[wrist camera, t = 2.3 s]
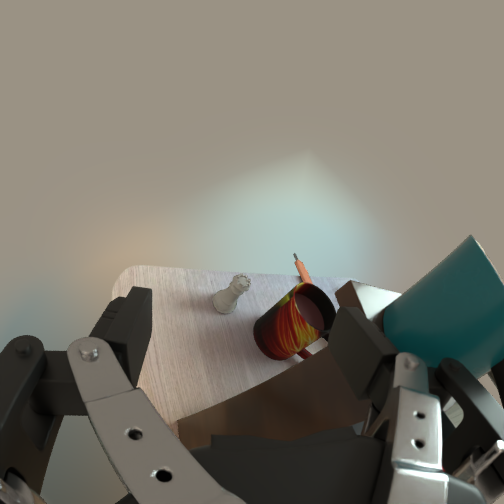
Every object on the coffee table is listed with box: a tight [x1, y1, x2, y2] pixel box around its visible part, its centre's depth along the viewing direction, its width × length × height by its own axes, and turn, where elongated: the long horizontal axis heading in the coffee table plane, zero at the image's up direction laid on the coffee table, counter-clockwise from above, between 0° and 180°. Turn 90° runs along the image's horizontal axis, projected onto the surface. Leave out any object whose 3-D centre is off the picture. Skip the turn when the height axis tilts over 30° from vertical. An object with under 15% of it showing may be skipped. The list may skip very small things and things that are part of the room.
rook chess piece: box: [213, 274, 251, 314], centre depth 47 cm, size 4×4×8 cm
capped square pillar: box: [177, 280, 456, 450], centre depth 21 cm, size 8×8×32 cm
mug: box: [253, 282, 336, 361], centre depth 48 cm, size 10×14×12 cm
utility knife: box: [294, 253, 312, 284], centre depth 69 cm, size 4×1×18 cm
